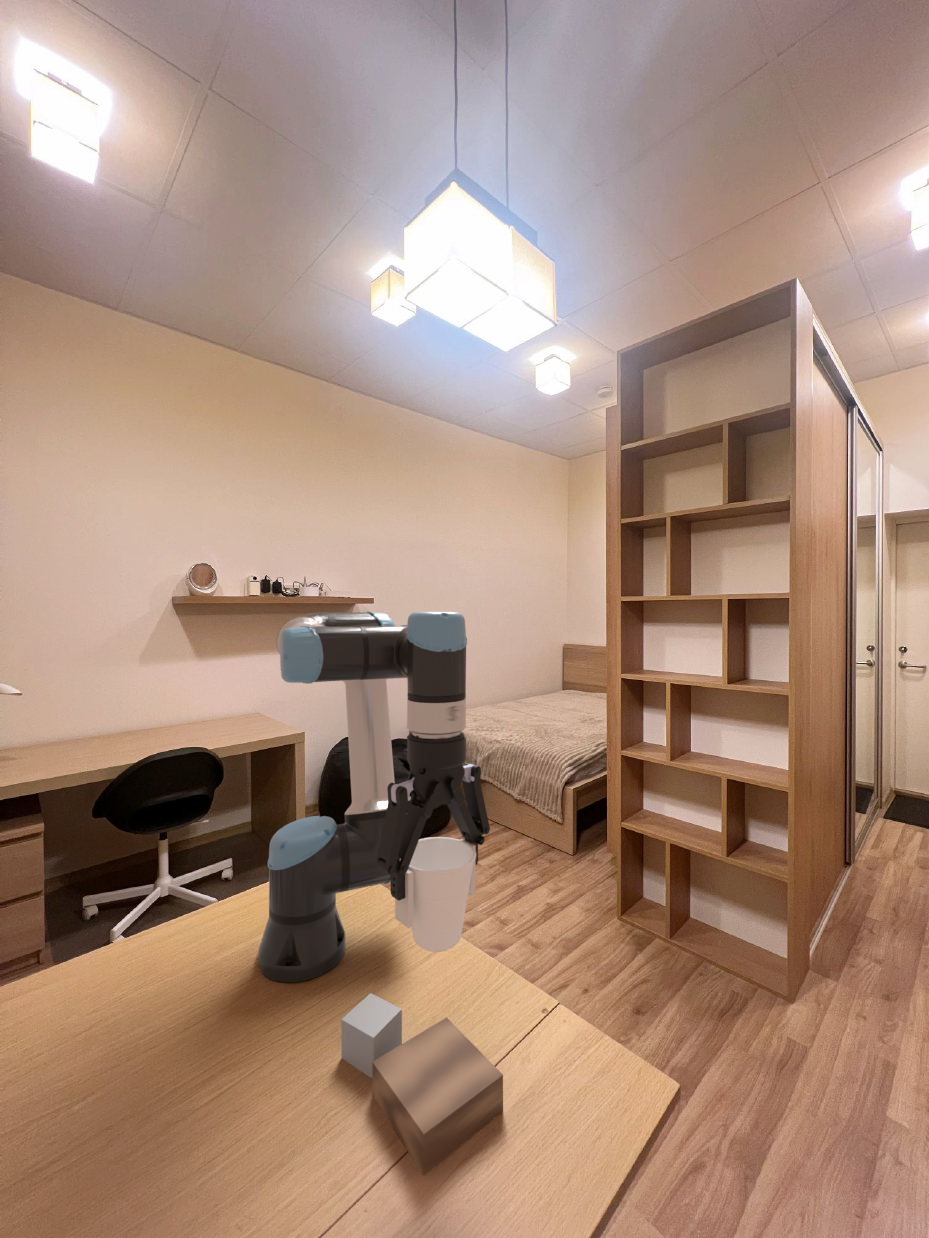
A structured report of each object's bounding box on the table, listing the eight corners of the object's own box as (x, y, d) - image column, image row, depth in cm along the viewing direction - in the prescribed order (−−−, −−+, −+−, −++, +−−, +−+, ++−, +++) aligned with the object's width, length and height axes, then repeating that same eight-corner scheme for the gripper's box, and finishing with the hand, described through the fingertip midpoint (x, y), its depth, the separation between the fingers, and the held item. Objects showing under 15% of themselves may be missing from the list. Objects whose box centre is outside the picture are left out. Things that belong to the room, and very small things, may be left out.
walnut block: (372, 1100, 67) (372, 1061, 67) (446, 1051, 74) (446, 1017, 74) (424, 1178, 58) (423, 1134, 58) (503, 1114, 65) (503, 1074, 65)
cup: (467, 969, 60) (468, 875, 60) (387, 958, 62) (387, 867, 62) (481, 920, 70) (482, 839, 70) (411, 912, 72) (412, 833, 72)
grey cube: (341, 1061, 72) (341, 1019, 72) (370, 1032, 78) (370, 992, 78) (373, 1082, 69) (373, 1037, 69) (401, 1050, 74) (401, 1008, 74)
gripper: (379, 753, 56) (380, 959, 56) (516, 723, 71) (516, 885, 71) (344, 741, 61) (344, 928, 61) (478, 716, 76) (478, 866, 76)
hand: (437, 905), depth 66 cm, fingers closed on cup, 10 cm apart
